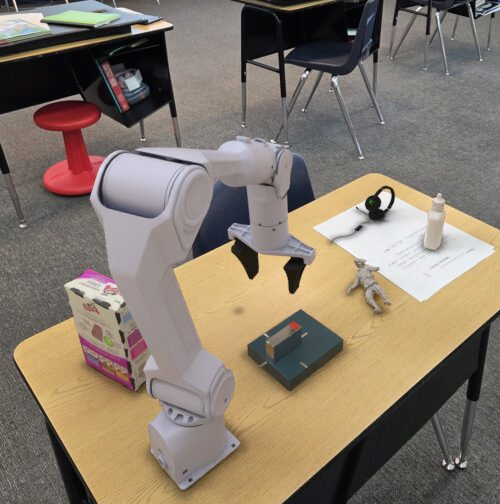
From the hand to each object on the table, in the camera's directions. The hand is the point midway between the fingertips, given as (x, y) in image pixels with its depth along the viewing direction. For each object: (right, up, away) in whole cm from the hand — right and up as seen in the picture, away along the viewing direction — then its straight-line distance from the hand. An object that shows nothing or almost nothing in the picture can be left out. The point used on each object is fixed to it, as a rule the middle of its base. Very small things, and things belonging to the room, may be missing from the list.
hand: (273, 282), depth 88 cm
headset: (+17, +9, +34) cm, 39 cm away
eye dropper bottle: (+32, +4, +27) cm, 42 cm away
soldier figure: (+17, -4, +13) cm, 22 cm away
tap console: (+4, -11, 0) cm, 12 cm away
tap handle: (+2, -10, -2) cm, 11 cm away
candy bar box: (-24, -13, -2) cm, 28 cm away
